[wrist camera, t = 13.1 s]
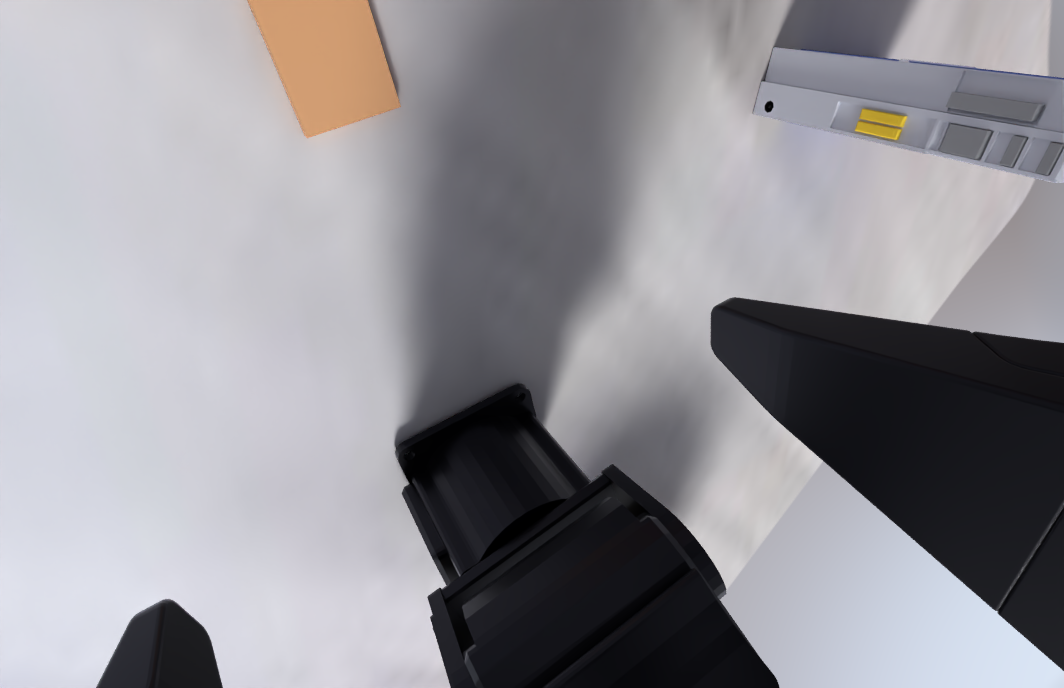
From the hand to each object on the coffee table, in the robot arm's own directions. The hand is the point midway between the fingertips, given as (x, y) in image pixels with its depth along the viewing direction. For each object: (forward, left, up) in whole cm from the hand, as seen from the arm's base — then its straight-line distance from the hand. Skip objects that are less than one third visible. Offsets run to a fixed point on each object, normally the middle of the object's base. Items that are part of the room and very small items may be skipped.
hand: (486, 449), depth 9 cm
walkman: (-23, +3, -13) cm, 27 cm away
